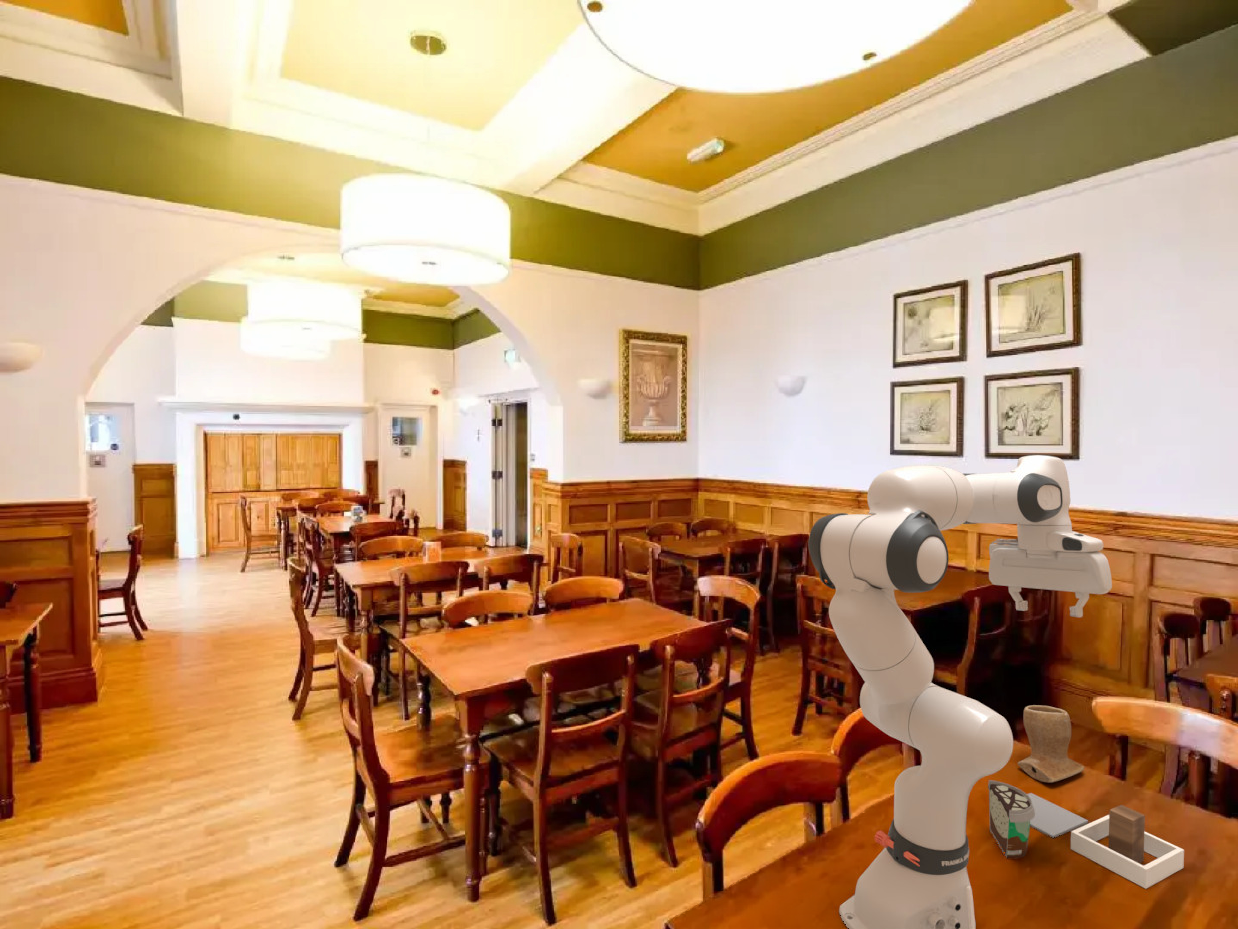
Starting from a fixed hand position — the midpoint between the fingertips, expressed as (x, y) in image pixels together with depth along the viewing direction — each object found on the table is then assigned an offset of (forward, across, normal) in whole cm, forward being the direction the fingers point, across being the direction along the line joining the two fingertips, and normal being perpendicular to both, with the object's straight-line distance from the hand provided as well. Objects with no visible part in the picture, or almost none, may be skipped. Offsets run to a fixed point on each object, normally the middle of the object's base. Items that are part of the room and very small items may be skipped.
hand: (1048, 613), depth 126 cm
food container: (+47, -9, +2) cm, 48 cm away
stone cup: (+44, -18, +38) cm, 61 cm away
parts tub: (+47, +5, +14) cm, 50 cm away
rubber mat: (+46, -10, +17) cm, 50 cm away
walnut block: (+47, +5, +14) cm, 50 cm away
